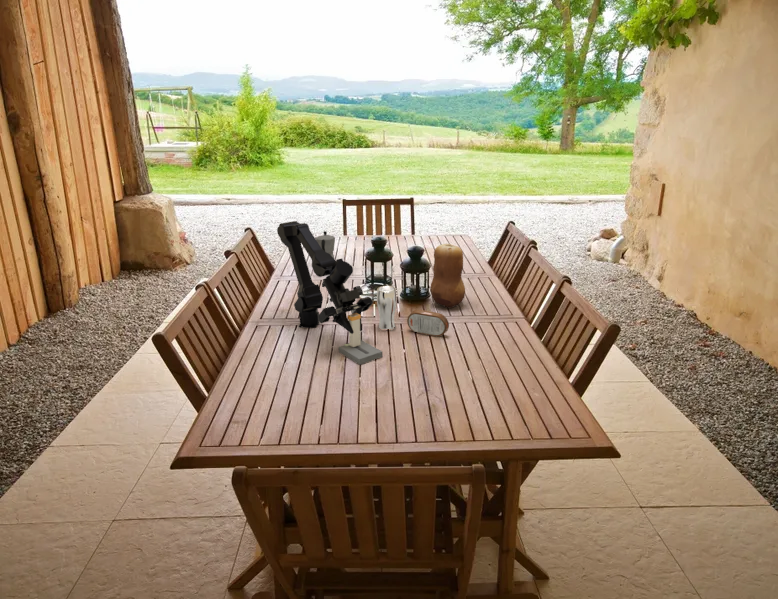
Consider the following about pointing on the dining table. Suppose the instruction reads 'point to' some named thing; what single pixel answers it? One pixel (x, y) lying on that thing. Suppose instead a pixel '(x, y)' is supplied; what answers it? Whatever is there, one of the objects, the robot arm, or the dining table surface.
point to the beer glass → (386, 306)
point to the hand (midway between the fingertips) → (357, 332)
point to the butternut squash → (448, 276)
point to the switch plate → (360, 352)
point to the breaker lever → (354, 329)
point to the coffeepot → (326, 243)
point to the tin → (428, 322)
